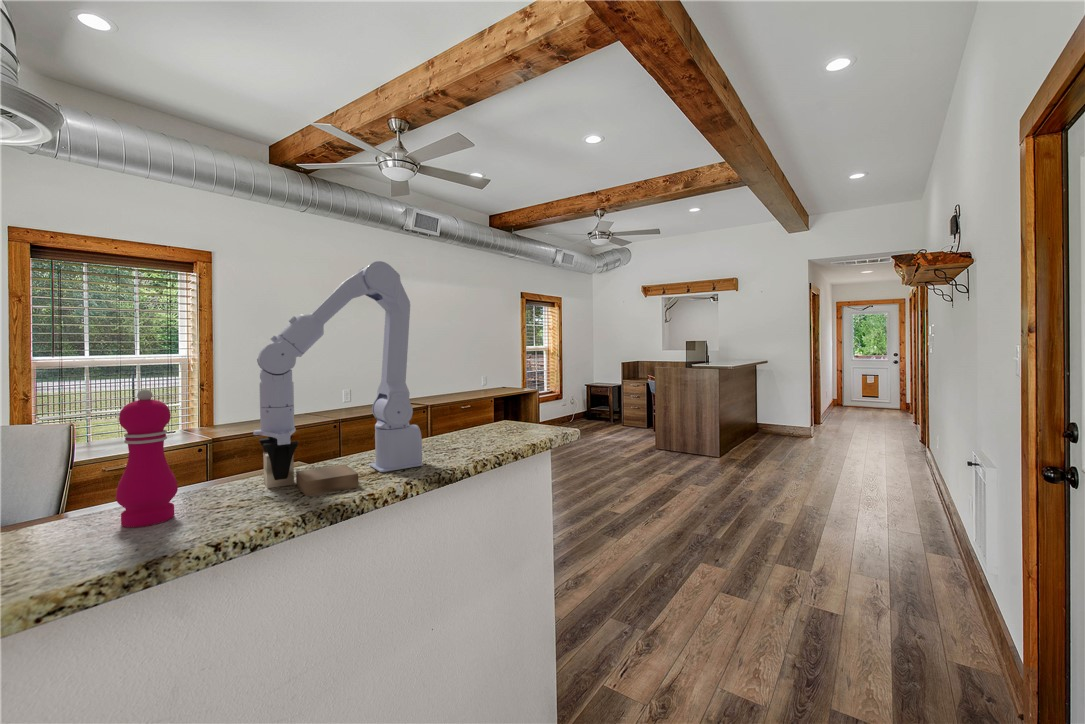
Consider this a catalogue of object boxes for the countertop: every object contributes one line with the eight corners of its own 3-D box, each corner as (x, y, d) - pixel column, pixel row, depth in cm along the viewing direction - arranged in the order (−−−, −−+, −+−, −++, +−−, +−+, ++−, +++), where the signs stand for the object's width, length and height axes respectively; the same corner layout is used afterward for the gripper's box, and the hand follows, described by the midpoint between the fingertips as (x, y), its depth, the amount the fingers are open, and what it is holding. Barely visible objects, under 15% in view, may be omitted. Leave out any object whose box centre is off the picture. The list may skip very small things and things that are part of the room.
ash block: (289, 479, 95) (289, 449, 95) (294, 484, 91) (293, 453, 91) (263, 482, 92) (263, 452, 92) (267, 488, 89) (266, 456, 88)
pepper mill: (146, 511, 76) (142, 387, 75) (190, 512, 76) (186, 387, 75) (102, 529, 69) (98, 391, 68) (151, 529, 69) (147, 391, 68)
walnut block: (345, 479, 96) (345, 464, 96) (358, 489, 89) (358, 473, 89) (296, 486, 91) (296, 471, 91) (306, 498, 84) (305, 481, 84)
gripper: (248, 404, 95) (250, 471, 95) (257, 411, 83) (259, 488, 84) (288, 401, 99) (289, 466, 99) (302, 408, 87) (303, 481, 88)
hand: (278, 476), depth 92 cm, fingers closed on ash block, 4 cm apart
